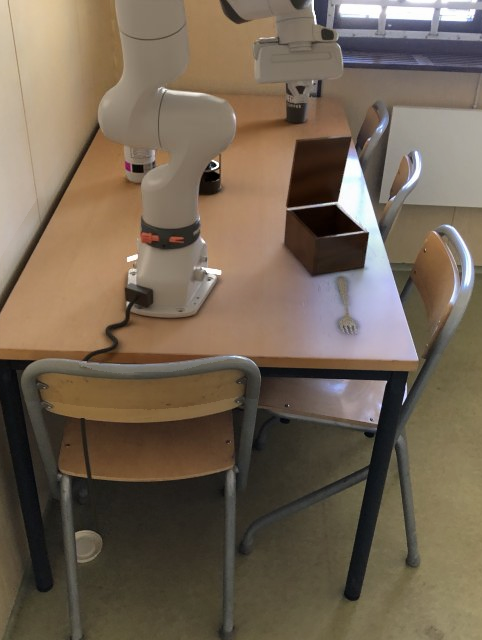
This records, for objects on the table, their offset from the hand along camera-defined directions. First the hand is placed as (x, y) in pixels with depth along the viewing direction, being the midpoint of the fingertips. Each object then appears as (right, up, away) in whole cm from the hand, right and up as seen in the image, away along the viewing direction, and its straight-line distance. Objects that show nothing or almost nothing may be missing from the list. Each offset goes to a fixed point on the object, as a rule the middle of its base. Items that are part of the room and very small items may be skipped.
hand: (301, 102), depth 155 cm
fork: (+8, -46, -14) cm, 49 cm away
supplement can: (-42, -9, +37) cm, 56 cm away
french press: (-24, -12, +34) cm, 43 cm away
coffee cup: (+3, +22, +85) cm, 88 cm away
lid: (+4, -16, -2) cm, 17 cm away
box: (+5, -34, +4) cm, 34 cm away
